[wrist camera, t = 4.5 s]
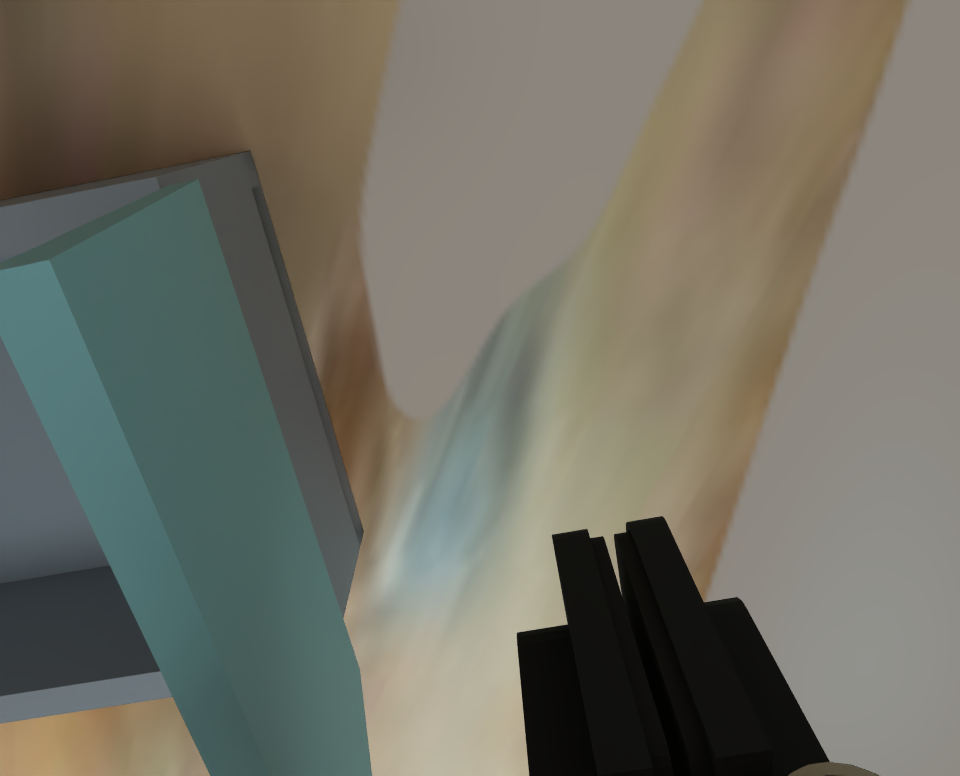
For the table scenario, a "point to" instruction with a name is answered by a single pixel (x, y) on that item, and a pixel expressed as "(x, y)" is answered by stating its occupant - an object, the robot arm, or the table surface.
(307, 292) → the table surface
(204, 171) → the box
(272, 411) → the flap
